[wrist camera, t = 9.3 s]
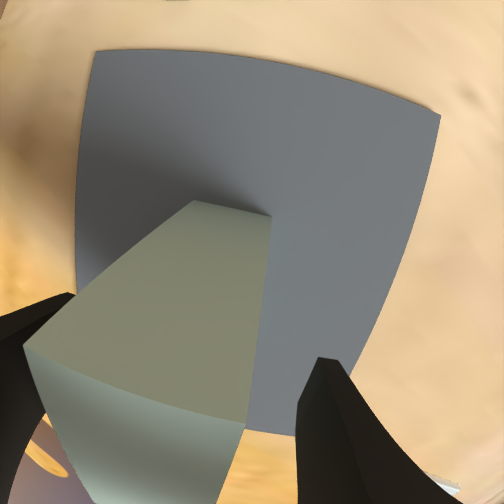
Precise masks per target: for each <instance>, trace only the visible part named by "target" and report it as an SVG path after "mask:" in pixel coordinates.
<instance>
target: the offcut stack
mask: <svg viewBox="0 0 504 504" xmlns="http://www.w3.org/2000/svg"><path fill="white" fill-rule="evenodd" d="M6 3H7V0H0V19H1V17H2V14H3V11H4V9H5V6H6Z"/></svg>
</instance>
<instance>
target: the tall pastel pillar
mask: <svg viewBox="0 0 504 504" xmlns="http://www.w3.org/2000/svg"><path fill="white" fill-rule="evenodd" d="M271 223H272V217H270V216H265V215H261V214H257V213H252V212H248V211H243V210H238V209H234V208H229V207H225V206H220V205H215V204H210V203H206V202H201V201H196V200H193V201H192V202H190V203H189V204H188V205H186V206H185V207H184V208H182V209H181V210H180V211H178V212H177V213H176V214H174V215H173V216H172V217H170V218H169V219H168V220H166V221H165V222H164V223H163V224H161V225H160V226H159V227H157V228H156V229H155V230H154V231H152V232H151V233H150V234H148V235H147V236H146V237H145V238H143V239H142V240H141V241H140V242H138V243H137V244H136V245H135V246H133V247H132V248H131V249H130V250H128V251H127V252H126V253H125V254H124V255H122V256H121V257H120V258H119V259H117V260H116V261H115V262H114V263H113V264H111V265H110V266H109V267H108V268H107V269H106V270H104V271H103V272H102V273H101V274H100V275H98V276H97V277H96V278H95V279H94V280H93V281H92V282H90V283H89V284H88V285H87V286H86V287H85V288H83V289H82V290H81V291H80V292H79V293H78V294H77V295H76V296H74V297H73V298H72V299H71V300H70V301H69V302H68V303H67V304H66V305H64V306H63V307H62V308H61V309H60V310H59V311H58V312H57V313H56V314H55V315H54V316H53V317H51V318H50V319H49V320H48V321H47V322H46V323H45V324H44V325H43V326H42V327H41V328H40V329H39V330H38V331H37V332H36V333H35V334H34V335H33V336H32V337H31V338H30V339H29V340H27V341H26V342H25V343H24V344H23V348H24V351H25V355H26V358H27V361H28V364H29V367H30V370H31V373H32V376H33V379H34V382H35V385H36V388H37V390H38V393H39V395H40V398H41V401H42V403H43V406H44V408H45V410H46V413H47V415H48V418H49V420H50V422H51V424H52V427H53V429H54V431H55V433H56V435H57V437H58V439H59V441H60V443H61V445H62V447H63V449H64V451H65V453H66V455H67V457H68V459H69V461H70V462H71V464H72V466H73V468H74V470H75V472H76V473H77V475H78V477H79V479H80V480H81V482H82V484H83V485H84V487H85V488H86V490H87V492H88V493H89V495H90V496H91V498H92V500H93V501H94V502H95V503H97V504H216V502H217V499H218V497H219V494H220V492H221V489H222V487H223V484H224V482H225V479H226V476H227V474H228V471H229V468H230V466H231V463H232V460H233V458H234V455H235V452H236V450H237V447H238V444H239V441H240V439H241V436H242V433H243V430H244V428H245V425H246V419H247V412H248V405H249V397H250V390H251V383H252V375H253V368H254V360H255V353H256V345H257V338H258V330H259V322H260V314H261V306H262V298H263V290H264V282H265V274H266V265H267V257H268V249H269V240H270V231H271Z"/></svg>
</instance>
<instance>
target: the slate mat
mask: <svg viewBox="0 0 504 504" xmlns="http://www.w3.org/2000/svg"><path fill="white" fill-rule="evenodd" d="M440 118H441V115H440V114H437V113H435V112H433V111H431V110H428V109H426V108H424V107H422V106H419V105H417V104H414V103H412V102H409V101H407V100H404V99H402V98H399V97H397V96H394V95H391V94H389V93H386V92H383V91H380V90H377V89H375V88H372V87H369V86H366V85H363V84H359V83H356V82H353V81H350V80H346V79H343V78H340V77H336V76H332V75H329V74H325V73H321V72H317V71H313V70H309V69H305V68H301V67H296V66H291V65H287V64H282V63H277V62H271V61H266V60H260V59H254V58H247V57H240V56H233V55H225V54H216V53H206V52H193V51H177V50H111V51H96V54H95V58H94V62H93V67H92V71H91V76H90V81H89V86H88V91H87V96H86V102H85V108H84V114H83V121H82V128H81V136H80V144H79V154H78V165H77V178H76V197H75V260H76V279H77V293H79V292H80V291H81V290H82V289H83V288H85V287H86V286H87V285H88V284H89V283H90V282H92V281H93V280H94V279H95V278H96V277H97V276H98V275H100V274H101V273H102V272H103V271H104V270H106V269H107V268H108V267H109V266H110V265H111V264H113V263H114V262H115V261H116V260H117V259H119V258H120V257H121V256H122V255H124V254H125V253H126V252H127V251H128V250H130V249H131V248H132V247H133V246H135V245H136V244H137V243H138V242H140V241H141V240H142V239H143V238H145V237H146V236H147V235H148V234H150V233H151V232H152V231H154V230H155V229H156V228H157V227H159V226H160V225H161V224H163V223H164V222H165V221H166V220H168V219H169V218H170V217H172V216H173V215H174V214H176V213H177V212H178V211H180V210H181V209H182V208H184V207H185V206H186V205H188V204H189V203H190V202H192V201H193V200H196V201H201V202H206V203H210V204H215V205H220V206H225V207H229V208H234V209H238V210H243V211H248V212H252V213H257V214H261V215H265V216H270V217H272V223H271V231H270V240H269V249H268V257H267V265H266V274H265V282H264V290H263V298H262V306H261V314H260V322H259V330H258V338H257V345H256V353H255V360H254V368H253V375H252V383H251V390H250V397H249V405H248V412H247V419H246V425H245V428H244V429H249V430H255V431H260V432H267V433H273V434H280V435H287V436H295V427H296V414H297V402H298V400H299V398H300V396H301V394H302V392H303V390H304V387H305V385H306V383H307V381H308V379H309V376H310V374H311V372H312V370H313V367H314V365H315V363H316V360H317V358H318V357H323V358H329V359H336V360H338V361H339V362H340V363H341V365H342V366H343V368H344V369H345V371H346V373H347V374H348V376H350V374H351V372H352V370H353V368H354V366H355V364H356V362H357V360H358V358H359V356H360V354H361V352H362V350H363V348H364V346H365V344H366V342H367V340H368V338H369V336H370V334H371V331H372V329H373V327H374V325H375V323H376V320H377V318H378V316H379V314H380V311H381V309H382V307H383V304H384V302H385V300H386V297H387V295H388V293H389V290H390V288H391V285H392V283H393V280H394V278H395V275H396V272H397V270H398V267H399V264H400V262H401V259H402V256H403V254H404V251H405V248H406V245H407V242H408V239H409V236H410V233H411V230H412V227H413V224H414V221H415V218H416V215H417V212H418V208H419V205H420V202H421V198H422V195H423V191H424V188H425V184H426V180H427V176H428V172H429V169H430V165H431V160H432V156H433V152H434V148H435V143H436V138H437V134H438V129H439V124H440Z"/></svg>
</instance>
